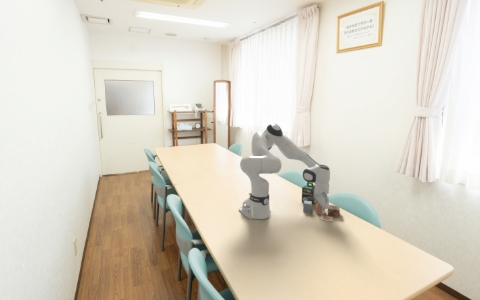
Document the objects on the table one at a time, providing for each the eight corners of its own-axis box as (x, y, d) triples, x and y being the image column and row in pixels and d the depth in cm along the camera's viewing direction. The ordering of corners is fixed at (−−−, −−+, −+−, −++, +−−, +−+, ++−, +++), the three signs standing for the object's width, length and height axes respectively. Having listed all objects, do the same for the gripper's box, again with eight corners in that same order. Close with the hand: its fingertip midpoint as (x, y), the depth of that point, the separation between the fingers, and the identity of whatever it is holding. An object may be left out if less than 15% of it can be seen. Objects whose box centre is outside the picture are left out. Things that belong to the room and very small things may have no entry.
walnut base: (327, 216, 171) (328, 208, 170) (327, 211, 177) (328, 204, 176) (339, 217, 169) (339, 210, 167) (338, 213, 175) (339, 206, 174)
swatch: (320, 219, 165) (320, 219, 165) (320, 215, 171) (321, 215, 170) (332, 221, 163) (332, 220, 163) (332, 217, 168) (332, 216, 168)
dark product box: (317, 200, 195) (319, 181, 192) (313, 205, 187) (314, 185, 184) (305, 198, 200) (306, 179, 197) (301, 201, 193) (302, 182, 189)
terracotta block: (316, 213, 174) (316, 205, 173) (316, 210, 179) (317, 202, 177) (323, 214, 172) (324, 206, 171) (324, 211, 177) (324, 203, 176)
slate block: (303, 211, 177) (303, 203, 175) (303, 208, 181) (304, 200, 180) (310, 212, 175) (311, 204, 174) (311, 209, 180) (311, 201, 178)
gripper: (332, 195, 162) (330, 216, 165) (321, 184, 182) (320, 203, 185) (322, 195, 162) (320, 216, 165) (312, 184, 182) (311, 203, 185)
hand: (320, 209), depth 175 cm, fingers open, 8 cm apart
